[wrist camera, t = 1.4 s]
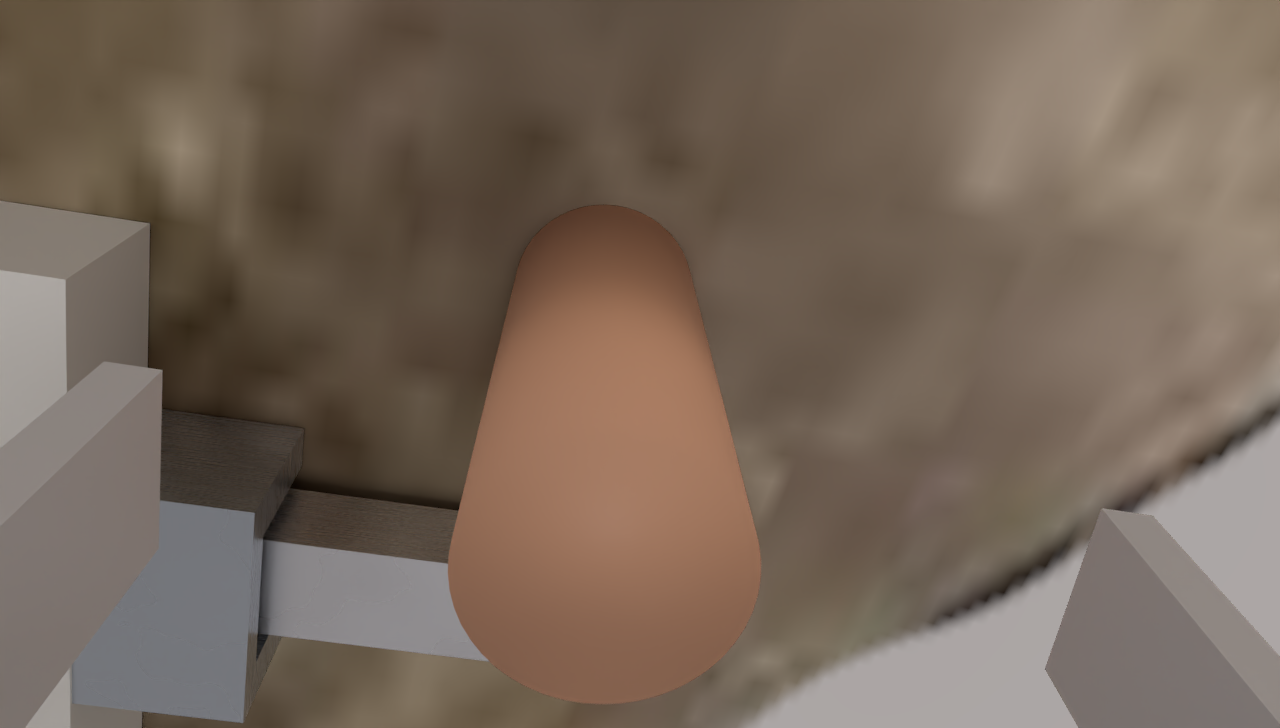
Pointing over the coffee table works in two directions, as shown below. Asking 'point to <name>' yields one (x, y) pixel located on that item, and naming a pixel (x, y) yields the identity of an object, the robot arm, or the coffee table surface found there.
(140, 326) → the dock
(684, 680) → the peg
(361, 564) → the lock pin
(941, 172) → the coffee table surface
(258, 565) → the pin guide
